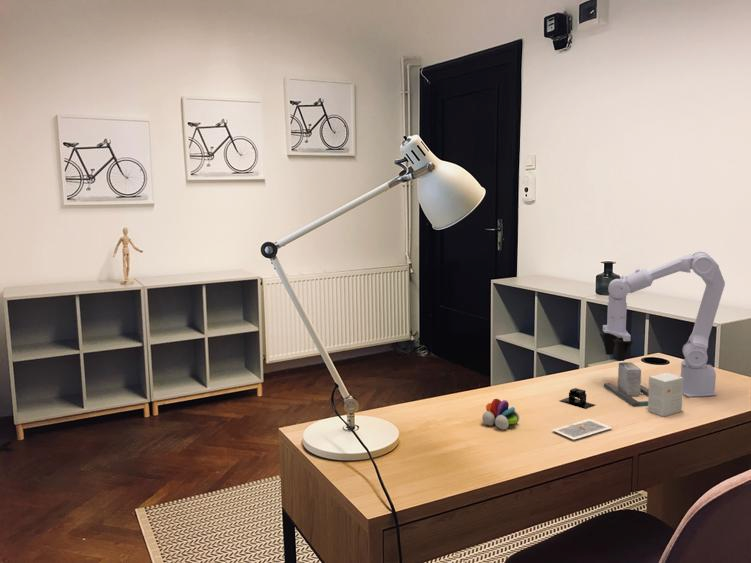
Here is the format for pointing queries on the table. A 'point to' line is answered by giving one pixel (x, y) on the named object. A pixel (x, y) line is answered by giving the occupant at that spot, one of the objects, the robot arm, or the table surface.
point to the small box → (665, 394)
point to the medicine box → (629, 378)
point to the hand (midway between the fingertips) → (615, 357)
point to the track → (627, 397)
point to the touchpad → (582, 429)
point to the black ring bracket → (576, 402)
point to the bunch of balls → (500, 414)
